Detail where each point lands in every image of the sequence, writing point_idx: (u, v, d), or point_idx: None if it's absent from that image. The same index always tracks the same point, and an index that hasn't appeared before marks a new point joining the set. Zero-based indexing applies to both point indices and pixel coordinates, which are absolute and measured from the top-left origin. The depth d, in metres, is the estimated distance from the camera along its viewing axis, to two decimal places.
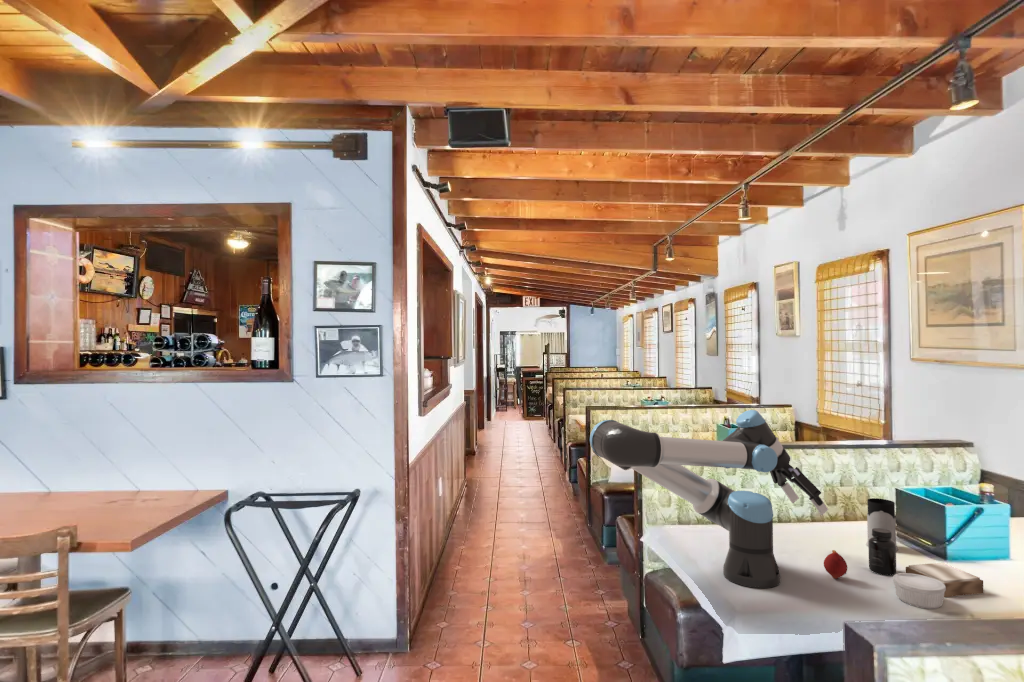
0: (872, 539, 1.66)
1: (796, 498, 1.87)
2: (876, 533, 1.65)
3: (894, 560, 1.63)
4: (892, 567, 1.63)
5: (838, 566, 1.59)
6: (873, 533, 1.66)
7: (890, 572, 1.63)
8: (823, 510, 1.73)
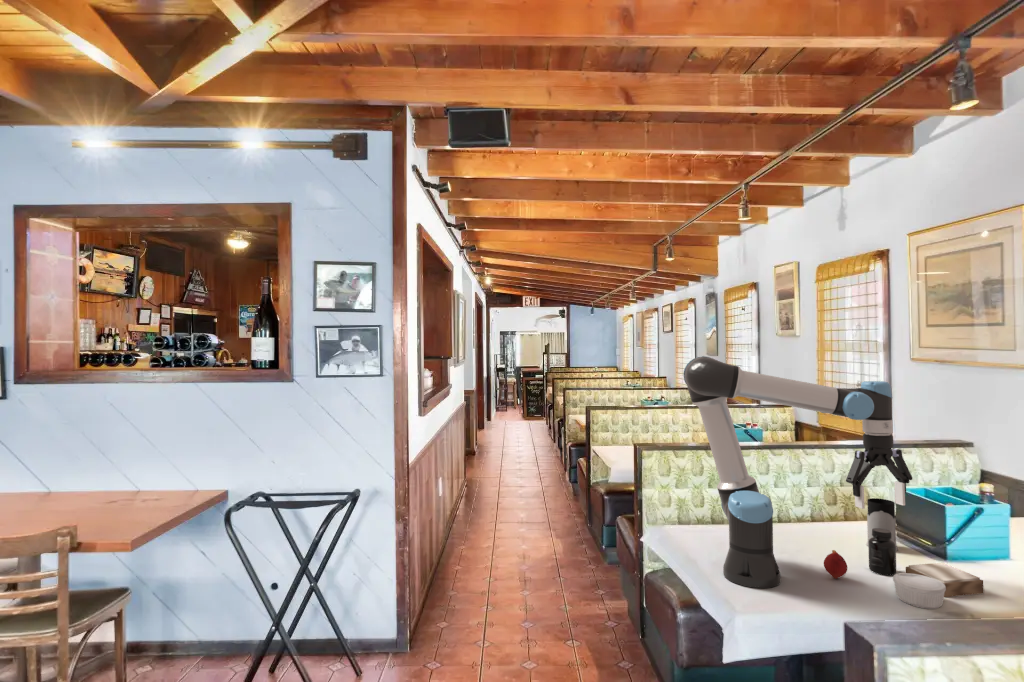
0: (872, 539, 1.66)
1: (900, 503, 1.67)
2: (876, 533, 1.65)
3: (894, 560, 1.63)
4: (892, 567, 1.63)
5: (838, 566, 1.59)
6: (873, 533, 1.66)
7: (890, 572, 1.63)
8: (858, 504, 1.66)
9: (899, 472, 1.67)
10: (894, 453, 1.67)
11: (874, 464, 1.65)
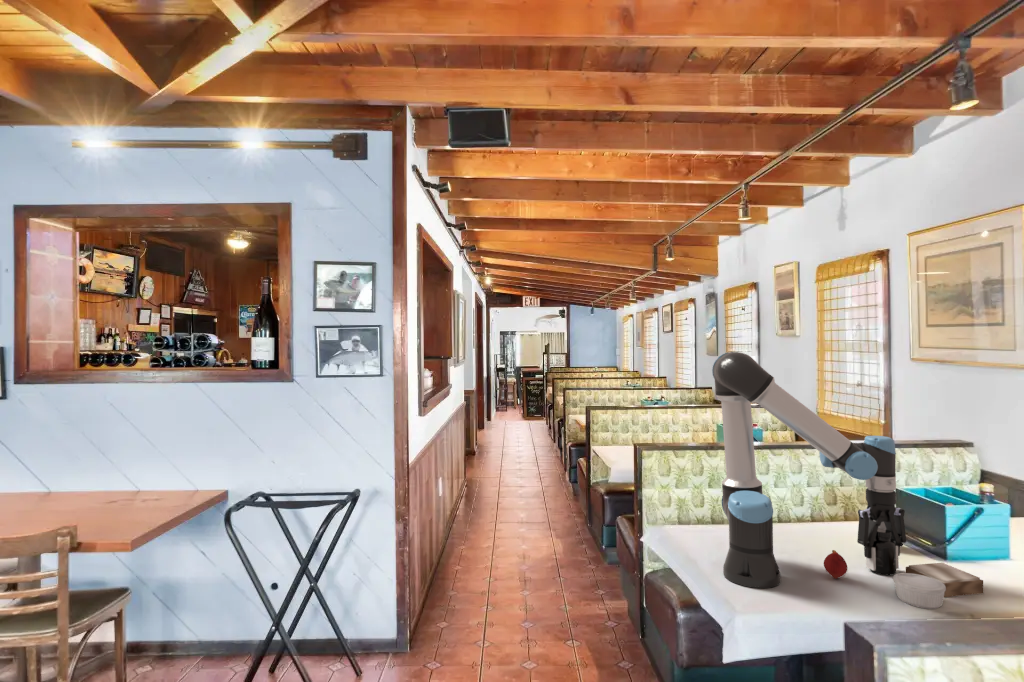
0: None
1: None
2: None
3: (894, 560, 1.63)
4: (892, 567, 1.63)
5: (838, 566, 1.59)
6: None
7: (890, 572, 1.63)
8: (869, 565, 1.66)
9: (896, 533, 1.66)
10: (896, 511, 1.67)
11: (879, 522, 1.64)
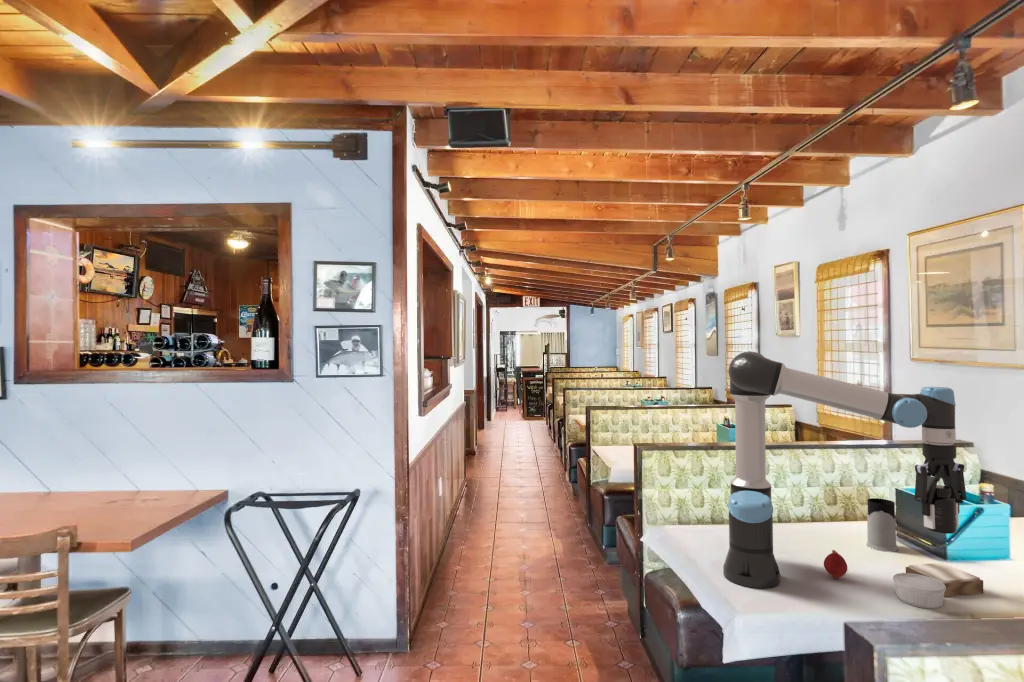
0: None
1: None
2: None
3: (955, 517, 1.53)
4: (953, 525, 1.53)
5: (838, 566, 1.59)
6: None
7: (951, 530, 1.53)
8: (927, 523, 1.55)
9: (955, 489, 1.56)
10: (955, 466, 1.57)
11: (938, 477, 1.54)
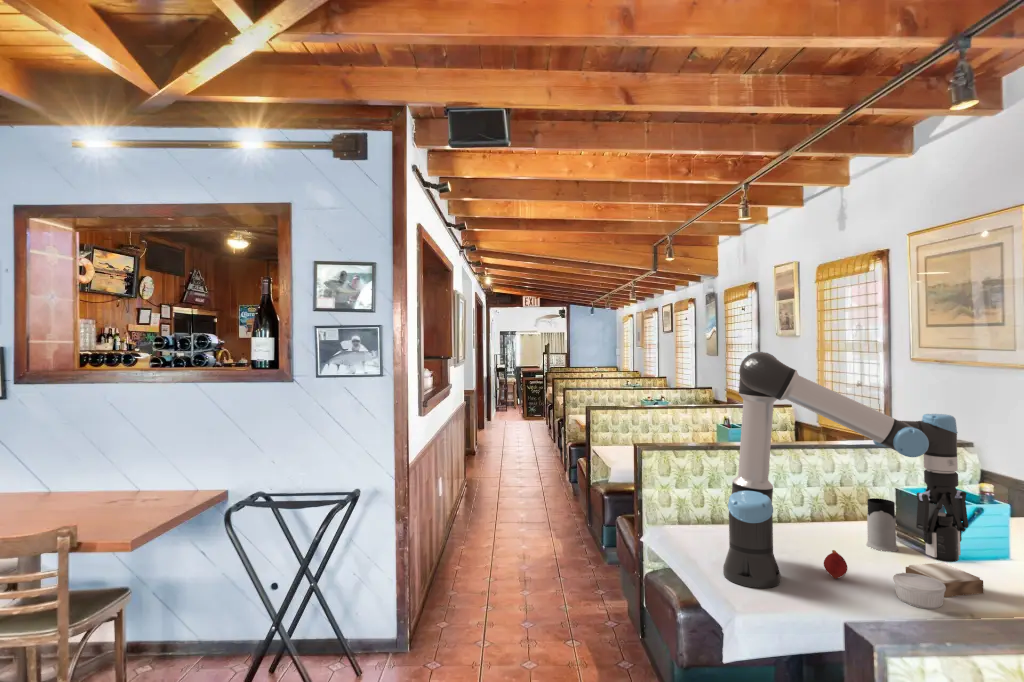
0: None
1: None
2: None
3: (957, 546, 1.53)
4: (955, 553, 1.52)
5: (838, 566, 1.59)
6: None
7: (953, 559, 1.52)
8: (929, 551, 1.55)
9: (957, 517, 1.55)
10: (957, 494, 1.56)
11: (940, 505, 1.54)
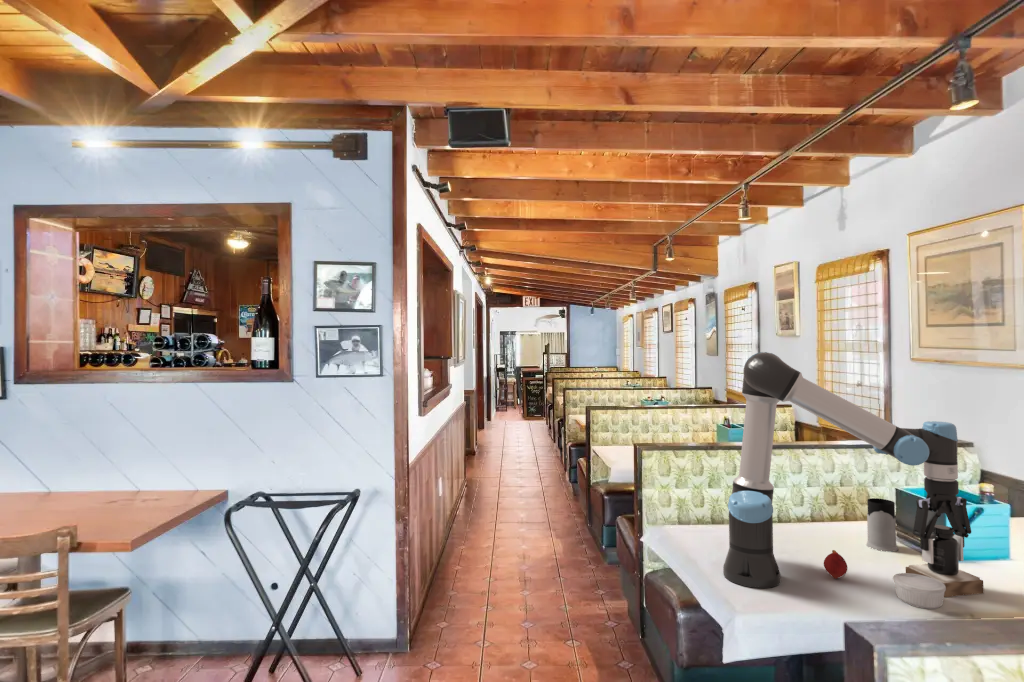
0: (932, 536, 1.56)
1: None
2: (937, 530, 1.55)
3: (957, 559, 1.53)
4: (955, 567, 1.52)
5: (838, 566, 1.59)
6: (933, 530, 1.56)
7: (952, 572, 1.52)
8: (926, 558, 1.55)
9: (959, 524, 1.55)
10: (958, 501, 1.56)
11: (939, 513, 1.54)
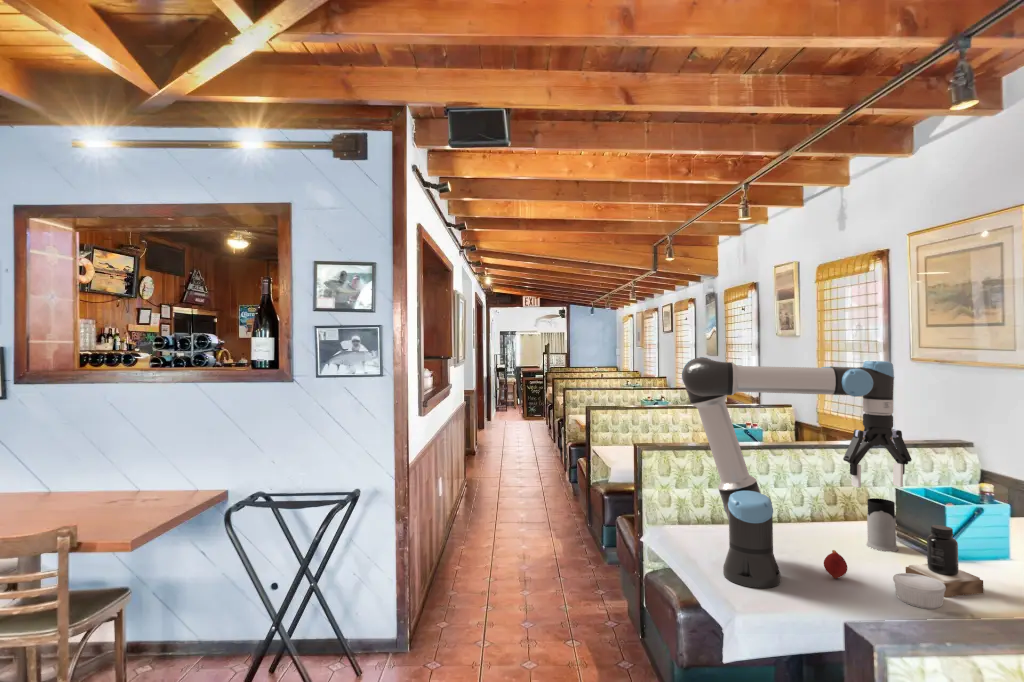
0: (932, 537, 1.56)
1: (898, 484, 1.66)
2: (936, 530, 1.55)
3: (956, 559, 1.53)
4: (954, 567, 1.52)
5: (838, 566, 1.59)
6: (933, 530, 1.56)
7: (952, 572, 1.52)
8: (854, 483, 1.65)
9: (898, 453, 1.66)
10: (894, 434, 1.66)
11: (872, 443, 1.64)
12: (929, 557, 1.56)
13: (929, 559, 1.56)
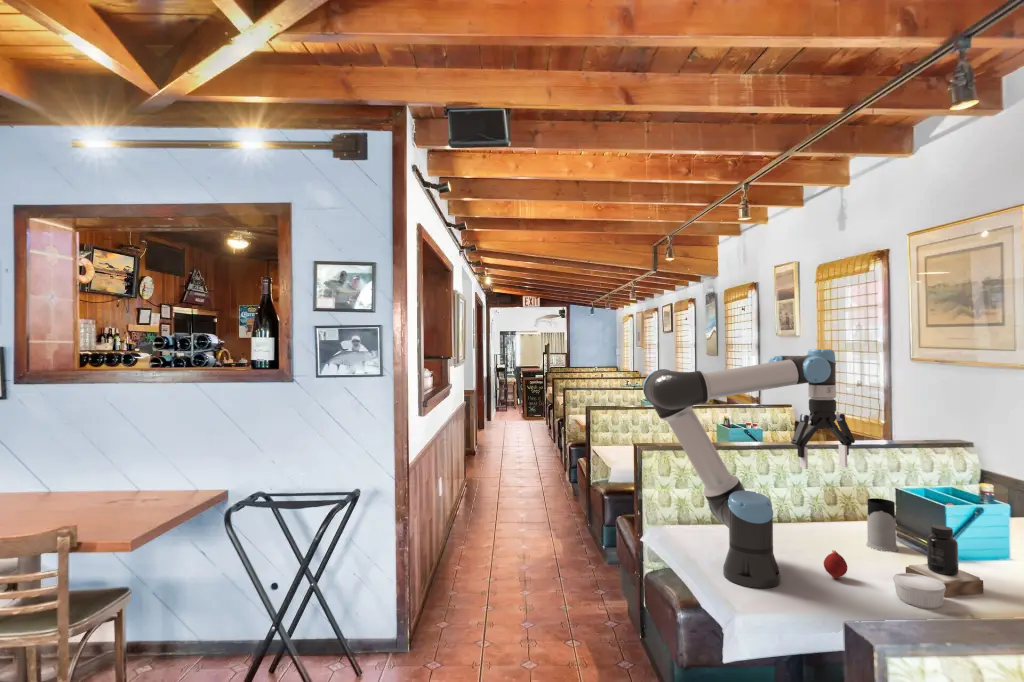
0: (932, 537, 1.56)
1: (843, 464, 1.76)
2: (936, 530, 1.55)
3: (956, 559, 1.53)
4: (954, 567, 1.52)
5: (838, 566, 1.59)
6: (933, 530, 1.56)
7: (952, 572, 1.52)
8: (802, 464, 1.75)
9: (842, 435, 1.76)
10: (838, 417, 1.76)
11: (818, 427, 1.74)
12: (929, 557, 1.56)
13: (929, 559, 1.56)
